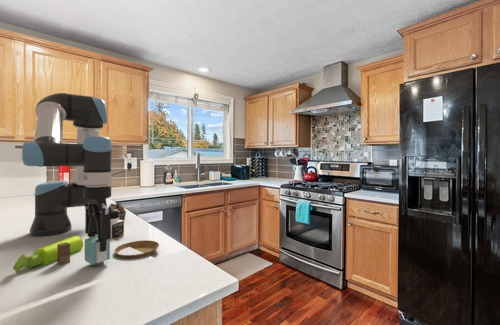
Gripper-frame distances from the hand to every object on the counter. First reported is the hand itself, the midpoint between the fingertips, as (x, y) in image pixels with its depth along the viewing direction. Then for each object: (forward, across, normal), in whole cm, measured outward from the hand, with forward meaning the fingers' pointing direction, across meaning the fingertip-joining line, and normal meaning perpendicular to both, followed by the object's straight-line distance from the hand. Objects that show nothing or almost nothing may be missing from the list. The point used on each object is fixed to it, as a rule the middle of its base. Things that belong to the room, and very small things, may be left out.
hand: (97, 258), depth 77 cm
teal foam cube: (0, 0, 0) cm, 0 cm away
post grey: (+3, 0, 0) cm, 3 cm away
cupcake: (+3, -53, +30) cm, 61 cm away
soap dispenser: (-1, -20, +1) cm, 20 cm away
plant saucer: (+3, -1, +14) cm, 14 cm away
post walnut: (+3, -10, -6) cm, 12 cm away
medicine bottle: (+3, -27, +16) cm, 32 cm away
